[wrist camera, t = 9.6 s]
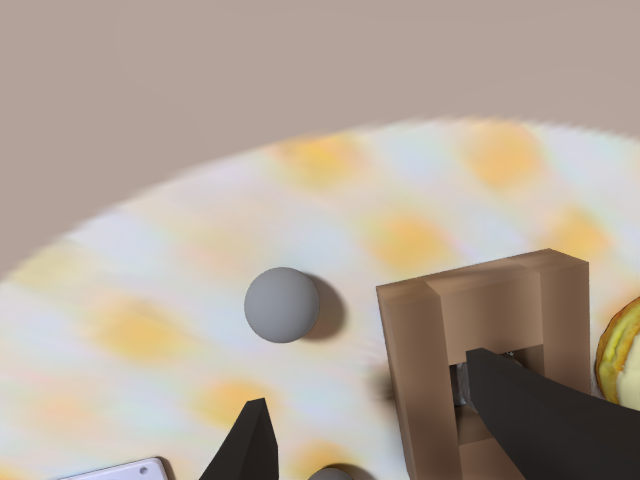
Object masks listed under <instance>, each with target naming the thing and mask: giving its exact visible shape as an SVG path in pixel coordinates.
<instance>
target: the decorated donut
mask: <svg viewBox="0 0 640 480" xmlns="http://www.w3.org/2000/svg"><path fill="white" fill-rule="evenodd" d="M598 346H599V347H598V349H597V353H596V354H597V363H596V374H597V380H598V384H599V387H600V390H601V392H602V393H603V395H604V396H605V398H606V400H607V401H609V402H612V403H615V404H618V405H621V406H624V407H628V408H631V409H635V410H639V411H640V297H639V298H637V299H636V300H634V301H633V302H631V303H630V304H628V305H627V306H626V307H625V308H624V310H622V311H620V312H619V313H618V314H616V315H615V316H614V318H613V319H612V320H611V322H610V324H609V327H608V328H607V330H606V332H605V333H604V334H603V335H602V336H601V338H600V342H599V345H598Z"/></svg>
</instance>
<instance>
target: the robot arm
mask: <svg viewBox="0 0 640 480" xmlns="http://www.w3.org/2000/svg"><path fill="white" fill-rule="evenodd" d="M465 352H466V361H467V370H468V379H469V388H470V398H471V402H472V403H473V405H474V407H475V409H476V410H477V412H478V414H479V416H480V417H481V419H482V421H483V422H484V424H485V426H486V427H487V429H488V430H489V431H490V433H491V434H492V435H493V437H494V438H495V439H496V441H497V442H498V443H499V445H500V446H501V447H502V449H503V450H504V451H505V453H506V454H507V455H508V457H509V458H510V459H511V461H512V462H513V463H514V464H515V466H516V467H517V468H518V470H519V471H520V472H521V474H522V475H523V476H524V478H525V479H526V480H640V411H639V410H635V409H631V408H628V407H624V406H621V405H618V404H615V403H612V402H609V401H606V400H603V399H600V398H597V397H594V396H591V395H588V394H585V393H583V392H580V391H578V390H575V389H572V388H570V387H568V386H565V385H563V384H560V383H558V382H555V381H553V380H551V379H549V378H546V377H544V376H542V375H540V374H537V373H535V372H533V371H531V370H529V369H527V368H524V367H522V366H520V365H518V364H516V363H514V362H512V361H510V360H508V359H506V358H504V357H502V356H500V355H498V354H496V353H494V352H491V351H489V350H487V349H485V348H477V349H473V350H469V351H465ZM143 467H145V468H147V469H144V468H143ZM60 480H168V478H167V476H166V473H165V470H164V468H163V465H162V462H161V461H160V460H159V459H157V458H150V459H145V460H141V461H137V462H133V463H128V464H124V465H120V466H115V467H111V468H107V469H103V470H98V471H94V472H90V473H86V474H81V475H77V476H73V477H69V478H64V479H60ZM199 480H279V465H278V445H277V441H276V438H275V434H274V430H273V427H272V423H271V419H270V416H269V412H268V409H267V405H266V401H265V398H260V399H256V400H252V401H247V403H246V404H245V405H244V407H243V409H242V411H241V413H240V414H239V416H238V418H237V420H236V422H235V423H234V425H233V427H232V429H231V430H230V432H229V434H228V435H227V437H226V439H225V440H224V442H223V444H222V445H221V447H220V449H219V450H218V452H217V454H216V455H215V457H214V458H213V460H212V461H211V463H210V464H209V466H208V467H207V469H206V470H205V471H204V473H203V474H202V476H201V477H200V479H199Z"/></svg>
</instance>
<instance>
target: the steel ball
mask: <svg viewBox="0 0 640 480" xmlns="http://www.w3.org/2000/svg"><path fill="white" fill-rule="evenodd" d="M498 355H500V356H502V357H504V358H506V359H508V360H510V361H512V362H514V363H516V364H518V365H520V366H522V365H521V364H520V363H519V362H518V361H517V360H516V359H515V358H514V357H512V356H511V355H509V354H507V353H501V354H498ZM522 367H523V366H522ZM458 385H459V389H460V392H461V395H462V397H463V399H464V400H465V402H466V403H467V404H468V406H469V407H470V408H471V409H473V410H474V411H475V412H476V413H478V412H477V410H476V409H475V407H474V405H473V403H472V402H471V398H470V388H469V379H468V370H467V362H463V363H462V365H461V367H460V369H459V373H458Z"/></svg>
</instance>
